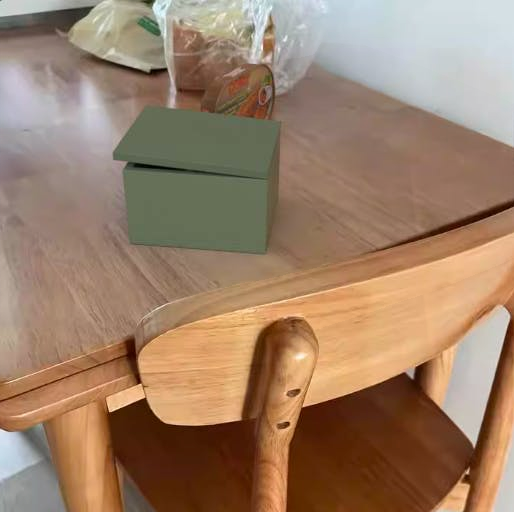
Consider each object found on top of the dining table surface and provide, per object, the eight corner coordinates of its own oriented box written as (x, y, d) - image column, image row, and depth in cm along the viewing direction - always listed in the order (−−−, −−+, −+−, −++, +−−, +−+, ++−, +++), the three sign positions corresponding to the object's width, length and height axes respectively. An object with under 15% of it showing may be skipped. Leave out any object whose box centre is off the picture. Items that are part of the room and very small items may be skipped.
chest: (129, 243, 73) (122, 170, 68) (158, 188, 83) (153, 121, 78) (265, 254, 71) (267, 180, 67) (278, 197, 81) (280, 129, 77)
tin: (218, 159, 89) (217, 90, 84) (197, 154, 90) (194, 85, 85) (276, 121, 100) (278, 57, 95) (256, 117, 101) (257, 53, 96)
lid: (112, 160, 67) (112, 151, 67) (145, 112, 77) (145, 104, 77) (267, 179, 67) (268, 171, 66) (280, 128, 77) (281, 121, 76)
